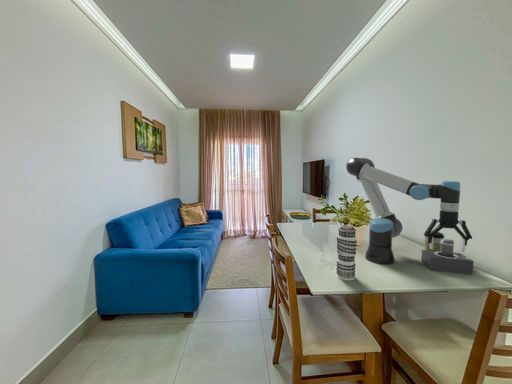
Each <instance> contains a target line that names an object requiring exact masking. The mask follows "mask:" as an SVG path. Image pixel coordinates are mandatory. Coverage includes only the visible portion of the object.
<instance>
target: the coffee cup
mask: <svg viewBox="0 0 512 384" xmlns="http://www.w3.org/2000/svg"><path fill="white" fill-rule="evenodd" d="M423 236H424V250H429V251H440V240H441V239H445V235H444V233H443V232H440V231H438V232H437V233H436V234H435V235H434V236H433V237H434V245H433V250H432V249H430V248H429V247H430V243H429V242H428V236H426V235H425V234H424V233H423Z"/></svg>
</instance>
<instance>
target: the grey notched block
mask: <svg viewBox="0 0 512 384" xmlns="http://www.w3.org/2000/svg"><path fill="white" fill-rule="evenodd" d="M439 254H440V253H439V251H429V250H425V249H422V250H421V261H420V262H421V263H422V264H423V265H424V266H425V267H426V268H427V269H429V271H435V272H443V273H451V274H461V273H462V274H461V275H470V274H473V273H474V263H475V261H474V260H473V259H471V258H469V257H467V255H464V254H462V252H454V251H453V258H451V257H444V256H440V255H439ZM473 275H474V274H473Z"/></svg>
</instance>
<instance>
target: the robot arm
mask: <svg viewBox="0 0 512 384" xmlns="http://www.w3.org/2000/svg"><path fill="white" fill-rule="evenodd" d="M345 169H346V172H347V173H348V174H349V175H351V176H354V177H355V178H356V180H357V182H360V183H361V186H362V187H363V190H364V193H365V194H366V197H367V199H368V201H369V204H370V206H371V208H372V210H373V212H374V215H375V218H373V219H371V220H370V222H369V234H368V236H369V238H368V240H369V242H368V247H367V249H366V252H365V254H364V255H365V259H366V260H367V261H369V262H372V263H376V264H382V265H391V264H394V263H395V255H394V251H393V248H392V244H393V239H394V238H396V237H398V236H400V234H401V232H402V231H403V224H402V221H400V220H399V219H398V218H397V216H396V215H395V213H394V212H391V210H390V209H389V206H388V204H387V201H386V199H385V198H384V195H383V193H382V190H381V189H380V186H379V185H382V186H384V187H387V188H388V189H391V190H395V191H397V192H398V193H399V192H400V193H402V194H404V195H406V196H409V197H411V198H412V199H414V200H416V201H422V200H425V199H439V200H440V205H439V209H440V210H439V219H437V218H436V219H435V218H432V219H431V222H430V224H429V225H428V227H427V229H426V230H425V231H424V233H423V235H424V234H425V235H426V236H428V242H429V243H430V247H429V248H430V249H432V250H433V245H434V237H433V236H434V235H435V234H436V233H437V232H440V231H441V230H442V229H454V231H455V232H456V233H458V235H459V236H460V237H461V238H460V242H459V251H460V252H461V253H465V250H466V249H465V248H466V247H465V246H467V245H468V241H469V240H472V239H473V236H472V234H471V232H470V230H469V228H468V227H467V224H466V221H465V220H464V219H460V220H459V209H460V199H461V198H460V197H461V183H460V182H459V181H457V180H455V181H454V180H450V181H449V180H442V181H441V183H440V184H432V183H431V184H430V183H429V184H428V183H418V182H415V181H412V180H409V179H407V178H404V177H401V176H399V175H396V174H393V173H390V172H387V171H385V170H382V169H379V168H376V166H375V164H374V161H372V160H371V159H369V158H367V157H352V158H350V159H349V160H347V163H346V168H345ZM438 223H439V224H438ZM437 224H438V225H437ZM458 224H459V225H460V227H461V229H462V230H463V231H462V230H461V229H460V228H459V226H457V225H458ZM436 225H437V226H436ZM435 226H436V227H435Z"/></svg>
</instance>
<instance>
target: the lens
mask: <svg viewBox="0 0 512 384" xmlns="http://www.w3.org/2000/svg"><path fill="white" fill-rule="evenodd" d="M454 246H455V241H454V240H452V239H448V238H443V239H441V240H440V251H439V253H440V254H439V255H440V256H444V257H451V258H453V253H454Z"/></svg>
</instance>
